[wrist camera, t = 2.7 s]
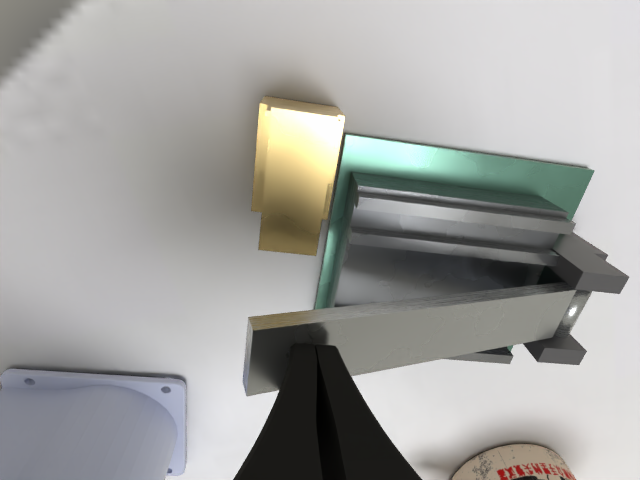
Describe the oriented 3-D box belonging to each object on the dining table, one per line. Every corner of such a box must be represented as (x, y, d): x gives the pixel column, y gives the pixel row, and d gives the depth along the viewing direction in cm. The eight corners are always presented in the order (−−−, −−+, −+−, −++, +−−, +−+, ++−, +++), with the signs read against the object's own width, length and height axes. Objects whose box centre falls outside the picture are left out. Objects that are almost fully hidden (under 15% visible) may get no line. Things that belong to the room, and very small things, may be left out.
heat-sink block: (309, 336, 21) (311, 377, 18) (345, 133, 16) (355, 148, 14) (504, 351, 22) (533, 392, 20) (588, 168, 18) (641, 188, 15)
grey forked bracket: (491, 303, 21) (537, 361, 17) (522, 226, 19) (583, 271, 15) (536, 307, 21) (592, 366, 17) (572, 232, 19) (645, 278, 15)
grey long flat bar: (241, 376, 12) (248, 401, 11) (246, 312, 11) (254, 335, 10) (553, 323, 18) (572, 337, 17) (576, 277, 17) (598, 290, 16)
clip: (255, 200, 17) (243, 248, 13) (265, 90, 15) (254, 104, 11) (321, 208, 18) (329, 257, 14) (338, 102, 16) (355, 120, 12)
